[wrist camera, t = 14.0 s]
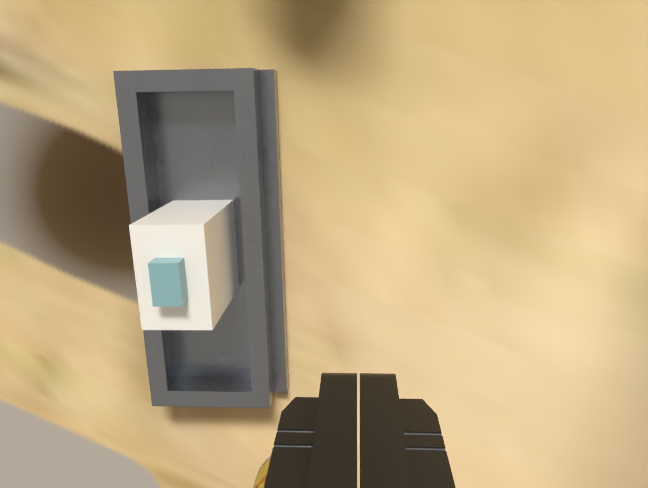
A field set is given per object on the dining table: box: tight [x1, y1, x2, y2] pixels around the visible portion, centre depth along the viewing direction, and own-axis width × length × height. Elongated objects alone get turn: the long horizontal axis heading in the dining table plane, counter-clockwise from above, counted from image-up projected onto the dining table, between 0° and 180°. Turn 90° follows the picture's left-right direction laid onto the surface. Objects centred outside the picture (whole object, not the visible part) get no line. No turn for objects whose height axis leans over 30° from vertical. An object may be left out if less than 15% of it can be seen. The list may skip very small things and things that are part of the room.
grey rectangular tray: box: [114, 68, 289, 408], centre depth 35 cm, size 22×10×3 cm, turn 1°
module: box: [129, 200, 239, 330], centre depth 32 cm, size 6×4×8 cm, turn 1°
